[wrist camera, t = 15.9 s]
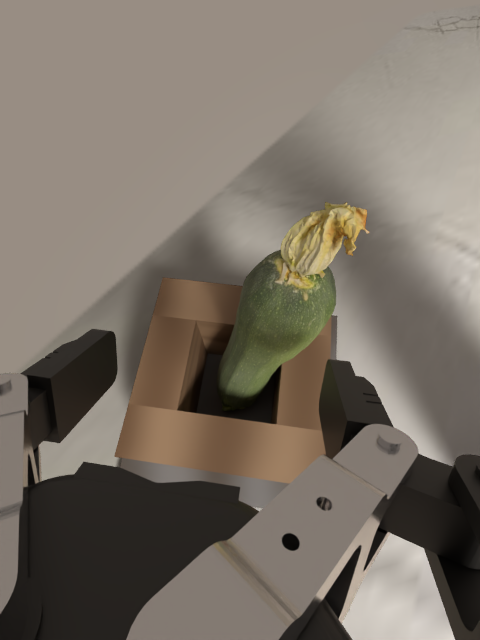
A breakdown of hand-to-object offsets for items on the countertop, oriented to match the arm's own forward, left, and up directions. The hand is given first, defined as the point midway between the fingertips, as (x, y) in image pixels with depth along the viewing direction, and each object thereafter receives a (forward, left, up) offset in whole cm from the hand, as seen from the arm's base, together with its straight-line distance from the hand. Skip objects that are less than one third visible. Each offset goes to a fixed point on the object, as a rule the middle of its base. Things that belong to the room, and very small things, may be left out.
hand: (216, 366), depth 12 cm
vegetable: (0, -2, -15) cm, 16 cm away
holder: (0, -2, -16) cm, 16 cm away
